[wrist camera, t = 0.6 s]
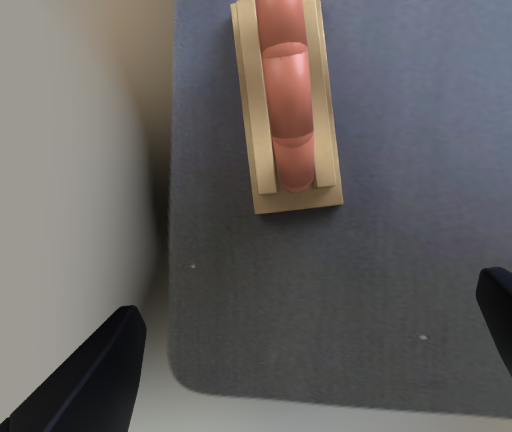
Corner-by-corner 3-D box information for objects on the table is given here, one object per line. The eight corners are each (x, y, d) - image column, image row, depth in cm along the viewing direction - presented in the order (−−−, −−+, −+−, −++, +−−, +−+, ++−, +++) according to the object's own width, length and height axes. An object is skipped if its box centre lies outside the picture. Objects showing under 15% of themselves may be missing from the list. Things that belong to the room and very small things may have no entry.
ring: (309, 194, 21) (325, 182, 10) (284, 197, 21) (275, 188, 10) (288, 8, 20) (282, -195, 10) (263, 12, 21) (232, -182, 10)
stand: (341, 204, 21) (348, 204, 18) (256, 214, 22) (250, 215, 19) (317, -2, 21) (321, -36, 18) (233, 13, 22) (223, -18, 19)
